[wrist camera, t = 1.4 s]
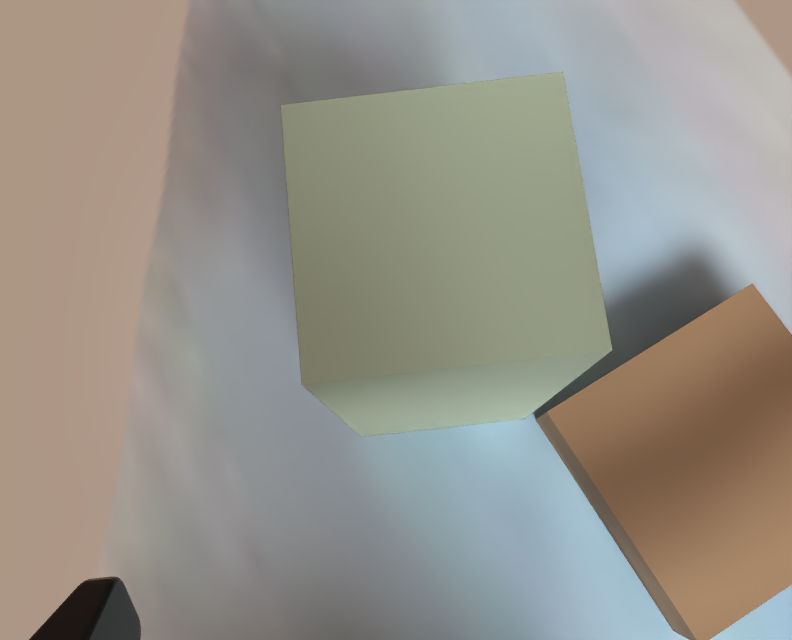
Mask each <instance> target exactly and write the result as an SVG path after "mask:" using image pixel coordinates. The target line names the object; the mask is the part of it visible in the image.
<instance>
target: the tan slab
mask: <svg viewBox="0 0 792 640" xmlns="http://www.w3.org/2000/svg"><path fill="white" fill-rule="evenodd" d="M536 421H537V422H538V424H539V425H540V427H541V428H542V430H543V431H544V433H545V435H546V436H547V438H548V439H549V441H550V442H551V444H552V445H553V447H554V448H555V450H556V451H557V453H558V454H559V456H560V458H561V459H562V461H563V462H564V464H565V465H566V467H567V468H568V470H569V471H570V473H571V474H572V476H573V478H574V479H575V481H576V482H577V484H578V485H579V487H580V488H581V490H582V491H583V493H584V494H585V496H586V497H587V499H588V501H589V502H590V504H591V505H592V507H593V508H594V510H595V511H596V513H597V514H598V516H599V517H600V519H601V521H602V522H603V524H604V525H605V527H606V528H607V530H608V531H609V533H610V534H611V536H612V537H613V539H614V540H615V542H616V544H617V545H618V547H619V548H620V550H621V551H622V553H623V554H624V556H625V557H626V559H627V560H628V562H629V564H630V565H631V567H632V568H633V570H634V571H635V573H636V574H637V576H638V577H639V579H640V580H641V582H642V583H643V585H644V587H645V588H646V590H647V591H648V593H649V594H650V596H651V597H652V599H653V600H654V602H655V603H656V605H657V607H658V608H659V610H660V611H661V613H662V614H663V616H664V617H665V619H666V620H667V622H668V623H669V625H670V626H671V628H672V630H673V631H675V632H676V633H678V634H680V635H682V636H684V637H686V638H687V639H689V640H709V639H711V638H712V637H714V636H715V635H717V634H718V633H720V632H721V631H723V630H724V629H726V628H727V627H729V626H730V625H732V624H733V623H735V622H736V621H738V620H739V619H741V618H742V617H744V616H745V615H747V614H748V613H750V612H751V611H753V610H754V609H756V608H757V607H759V606H760V605H762V604H763V603H764V602H766V601H767V600H769V599H770V598H772V597H773V596H775V595H776V594H778V593H779V592H781V591H782V590H784V589H785V588H787V587H788V586H790V585H791V584H792V335H791V333H790V332H789V331H788V329H787V328H786V327H785V326H784V324H783V323H782V322H781V320H780V319H779V318H778V316H777V315H776V314H775V312H774V311H773V310H772V309H771V307H770V306H769V305H768V303H767V302H766V301H765V299H764V298H763V297H762V295H761V294H760V293H759V291H758V290H757V289H756V288H755V286H754V285H753V284H751V285H749V286H748V287H746V288H744V289H743V290H741V291H740V292H738V293H736V294H735V295H733V296H731V297H730V298H728V299H727V300H725V301H723V302H722V303H720V304H719V305H717V306H715V307H714V308H712V309H711V310H709V311H707V312H706V313H704V314H703V315H701V316H699V317H698V318H696V319H695V320H693V321H691V322H690V323H688V324H687V325H685V326H683V327H682V328H680V329H679V330H677V331H675V332H674V333H672V334H671V335H669V336H667V337H666V338H664V339H663V340H661V341H659V342H658V343H656V344H655V345H653V346H651V347H650V348H648V349H647V350H645V351H643V352H642V353H640V354H639V355H637V356H635V357H634V358H632V359H630V360H629V361H627V362H626V363H624V364H622V365H621V366H619V367H618V368H616V369H614V370H613V371H611V372H610V373H608V374H606V375H605V376H603V377H602V378H600V379H598V380H597V381H595V382H594V383H592V384H590V385H589V386H587V387H586V388H584V389H582V390H581V391H579V392H578V393H576V394H574V395H573V396H571V397H570V398H568V399H566V400H565V401H563V402H562V403H560V404H558V405H557V406H555V407H554V408H552V409H550V410H549V411H547V412H546V413H544V414H543V415H541V416H540V417H538V418H537V419H536Z"/></svg>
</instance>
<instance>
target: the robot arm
mask: <svg viewBox="0 0 792 640" xmlns="http://www.w3.org/2000/svg"><path fill="white" fill-rule="evenodd" d="M140 638H141V626H140V620H139V617H138V614H137V612H136V610H135V608H134V605H133V603H132V601H131V599H130V596H129V594H128V592H127V590H126V587H125V585H124V583H123V582H122V580H121V579H119V578H118V577H104V578H95V579H88V580H86V581H84V582H83V583H81V584H80V585H79V586H78V587H77V588H76V589H75V590H74V591H73V592H72V593H71V594H70V596H69V597H68V598H67V599H66V600H65V601H64V602H63V603H62V604H61V605H60V606H59V608H58V609H57V610H56V611H55V612H54V613H53V614H52V615H51V616H50V618H49V619H48V620H47V621H46V622H45V623H44V624H43V625H42V626H41V627H40V629H38V630H37V632H36V633H35V634H34V635H33V636H32V637H31V638H30V639H29V640H140Z"/></svg>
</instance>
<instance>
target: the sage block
mask: <svg viewBox="0 0 792 640" xmlns="http://www.w3.org/2000/svg"><path fill="white" fill-rule="evenodd" d="M281 118H282V131H283V145H284V158H285V171H286V184H287V198H288V211H289V224H290V237H291V251H292V264H293V277H294V290H295V303H296V317H297V330H298V343H299V356H300V370H301V383H302V385H303V386H304V387H305V388H306V389H307V390H308V391H310V392H311V393H312V394H313V395H314V396H315V397H316V398H318V399H319V400H320V401H321V402H322V403H323V404H324V405H326V406H327V407H328V408H329V409H330V410H331V411H332V412H334V413H335V414H336V415H337V416H338V417H339V418H340V419H342V420H343V421H344V422H345V423H346V424H347V425H348V426H350V427H351V428H352V429H353V430H354V431H355V432H357V433H358V434H359V435H360V436H361V437H364V436H373V435H382V434H391V433H400V432H410V431H419V430H428V429H437V428H446V427H455V426H464V425H474V424H483V423H492V422H501V421H510V420H519V419H525V418H526V417H528V416H529V415H530V414H531V413H533V412H534V411H535V410H537V409H538V408H539V407H540V406H542V405H543V404H544V403H546V402H547V401H548V400H549V399H551V398H552V397H553V396H554V395H556V394H557V393H558V392H560V391H561V390H562V389H563V388H565V387H566V386H567V385H569V384H570V383H571V382H572V381H574V380H575V379H576V378H577V377H579V376H580V375H581V374H583V373H584V372H585V371H586V370H588V369H589V368H590V367H592V366H593V365H594V364H595V363H597V362H598V361H599V360H601V359H602V358H603V357H604V356H606V355H607V354H608V353H609V352H611V351H612V345H611V340H610V334H609V328H608V323H607V317H606V311H605V306H604V300H603V294H602V289H601V283H600V278H599V272H598V266H597V261H596V255H595V249H594V244H593V238H592V232H591V227H590V221H589V215H588V210H587V204H586V198H585V193H584V187H583V181H582V176H581V170H580V164H579V159H578V153H577V147H576V142H575V136H574V130H573V125H572V119H571V113H570V108H569V102H568V96H567V91H566V85H565V79H564V74H563V72H557V73H548V74H540V75H531V76H523V77H514V78H506V79H497V80H489V81H480V82H471V83H463V84H454V85H446V86H437V87H429V88H420V89H412V90H403V91H395V92H386V93H377V94H369V95H360V96H352V97H343V98H335V99H326V100H318V101H309V102H301V103H292V104H283V105H281Z"/></svg>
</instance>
